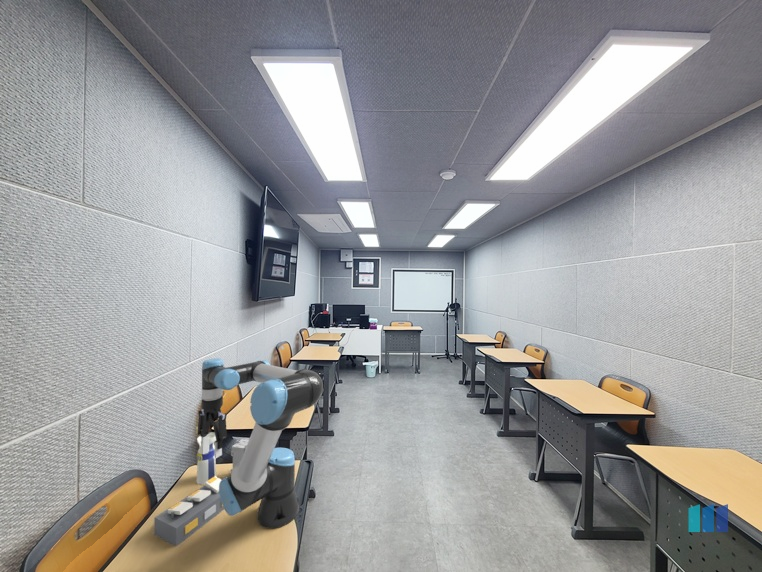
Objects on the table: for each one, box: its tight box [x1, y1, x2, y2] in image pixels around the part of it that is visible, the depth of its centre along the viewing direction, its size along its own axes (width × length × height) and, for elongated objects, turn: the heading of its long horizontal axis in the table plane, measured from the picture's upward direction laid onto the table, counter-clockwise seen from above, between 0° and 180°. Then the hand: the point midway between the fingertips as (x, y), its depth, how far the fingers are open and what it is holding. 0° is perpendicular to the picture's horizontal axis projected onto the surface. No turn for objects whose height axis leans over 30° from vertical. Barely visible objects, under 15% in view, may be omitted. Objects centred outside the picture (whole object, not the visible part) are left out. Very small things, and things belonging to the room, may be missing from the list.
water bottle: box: [195, 426, 217, 485], centre depth 132 cm, size 8×9×25 cm
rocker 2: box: [186, 489, 211, 502], centre depth 110 cm, size 7×4×1 cm, turn 67°
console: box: [153, 477, 225, 547], centre depth 110 cm, size 12×24×8 cm, turn 157°
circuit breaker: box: [230, 438, 250, 474], centre depth 134 cm, size 8×14×15 cm, turn 78°
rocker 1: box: [167, 501, 193, 515], centre depth 104 cm, size 7×4×1 cm, turn 67°
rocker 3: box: [204, 475, 222, 493], centre depth 117 cm, size 7×4×1 cm, turn 67°
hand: (211, 454), depth 118 cm, fingers open, 7 cm apart
